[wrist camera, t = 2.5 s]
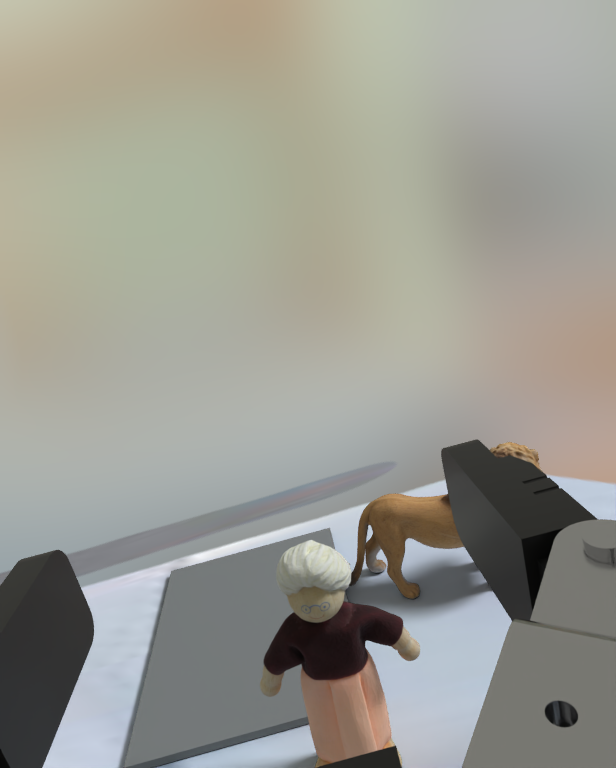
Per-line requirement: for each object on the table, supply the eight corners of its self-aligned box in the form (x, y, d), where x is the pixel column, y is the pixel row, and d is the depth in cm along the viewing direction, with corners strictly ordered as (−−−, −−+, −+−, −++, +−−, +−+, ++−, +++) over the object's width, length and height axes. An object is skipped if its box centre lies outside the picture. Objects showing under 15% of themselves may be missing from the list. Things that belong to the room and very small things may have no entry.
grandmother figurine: (302, 831, 25) (223, 604, 22) (286, 758, 29) (215, 553, 25) (455, 763, 26) (404, 537, 23) (420, 701, 30) (371, 497, 26)
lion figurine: (541, 536, 41) (525, 424, 38) (570, 583, 36) (553, 458, 33) (345, 570, 42) (317, 466, 40) (346, 619, 37) (314, 504, 35)
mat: (331, 532, 48) (329, 527, 48) (373, 705, 31) (372, 698, 30) (173, 575, 48) (171, 571, 47) (126, 774, 30) (123, 767, 30)
